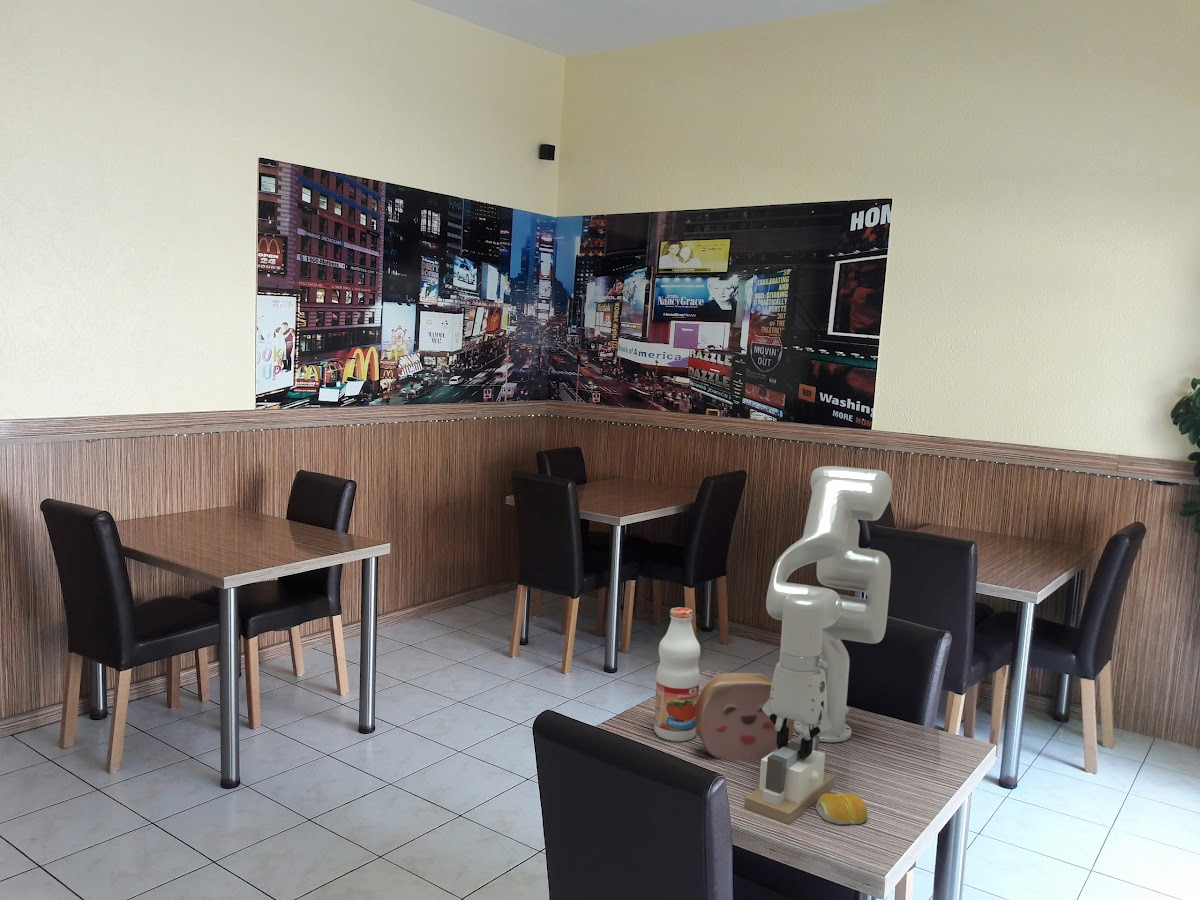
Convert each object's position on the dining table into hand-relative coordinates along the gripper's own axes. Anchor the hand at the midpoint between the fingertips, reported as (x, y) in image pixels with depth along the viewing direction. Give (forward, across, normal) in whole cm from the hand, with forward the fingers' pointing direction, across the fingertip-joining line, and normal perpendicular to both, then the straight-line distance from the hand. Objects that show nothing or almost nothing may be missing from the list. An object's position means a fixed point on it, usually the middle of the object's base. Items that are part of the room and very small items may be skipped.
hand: (793, 752), depth 177 cm
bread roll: (+9, -10, 0) cm, 14 cm away
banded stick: (+5, 0, 0) cm, 5 cm away
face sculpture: (+9, +16, -10) cm, 22 cm away
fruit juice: (+9, +32, -10) cm, 35 cm away
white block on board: (+9, 0, 0) cm, 9 cm away
